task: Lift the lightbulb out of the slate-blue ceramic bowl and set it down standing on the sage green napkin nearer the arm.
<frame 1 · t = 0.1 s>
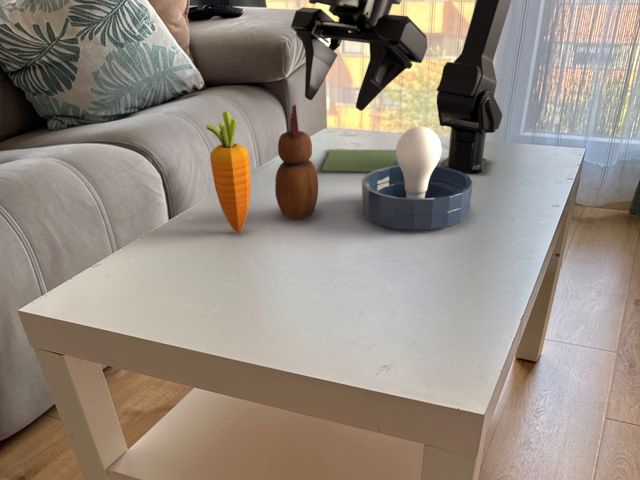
hand: (332, 103, 81), 15 cm above the table, tool tilted 30°, fingers open, 9 cm apart
napkin: (360, 161, 111), on the table
carrot: (238, 233, 87), on the table
lightbulb: (414, 210, 91), resting on bowl
wooden figurine: (298, 216, 92), on the table
bowl: (414, 212, 91), on the table
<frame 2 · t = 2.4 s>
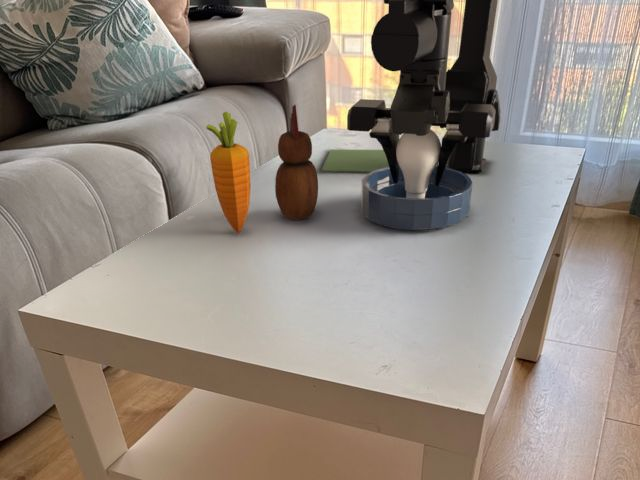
hand: (416, 184, 89), 4 cm above the table, tool pointing down, fingers closed on lightbulb, 5 cm apart
lightbulb: (414, 210, 91), resting on bowl, touching gripper
everything else where it was.
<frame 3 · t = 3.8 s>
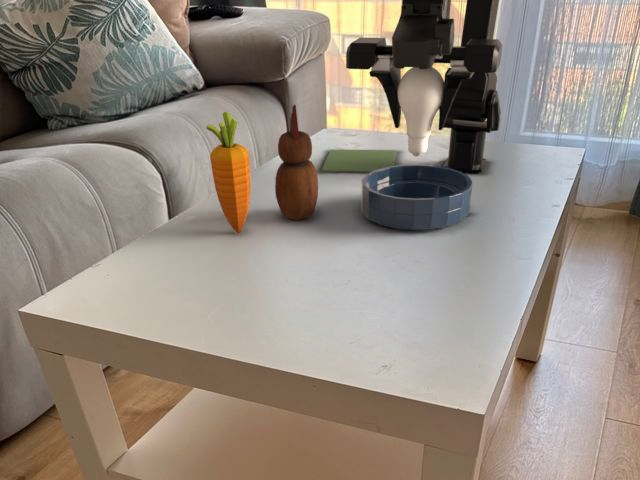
hand: (418, 128, 85), 11 cm above the table, tool pointing down, fingers closed on lightbulb, 5 cm apart
lightbulb: (416, 157, 87), point 7 cm above the table, touching gripper
everything else where it was.
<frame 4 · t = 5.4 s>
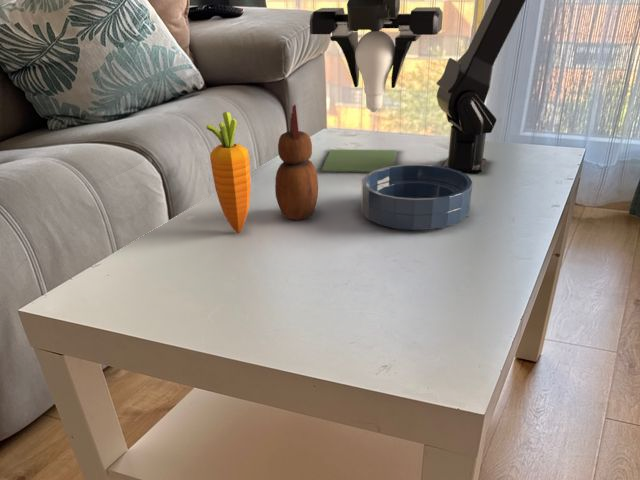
hand: (374, 87, 98), 13 cm above the table, tool pointing down, fingers closed on lightbulb, 5 cm apart
lightbulb: (374, 113, 100), point 9 cm above the table, touching gripper
everything else where it was.
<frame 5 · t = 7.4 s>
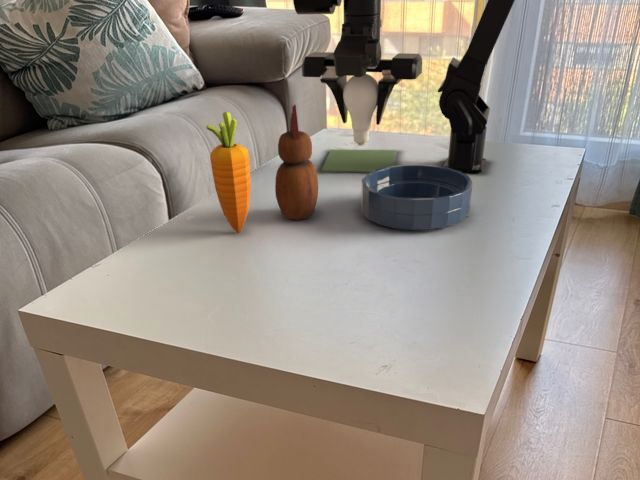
hand: (361, 123, 107), 6 cm above the table, tool pointing down, fingers closed on lightbulb, 5 cm apart
lightbulb: (361, 146, 109), point 3 cm above the table, touching gripper
everything else where it was.
when the fingers open (4 cm above the table, at t = 8.6 s): lightbulb stays where it is, resting on napkin.
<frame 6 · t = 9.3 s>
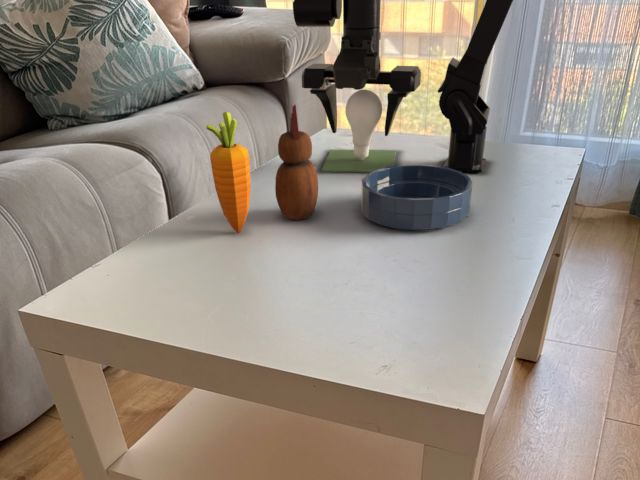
hand: (360, 134, 108), 5 cm above the table, tool pointing down, fingers open, 9 cm apart
lightbulb: (360, 160, 111), resting on napkin
everything else where it was.
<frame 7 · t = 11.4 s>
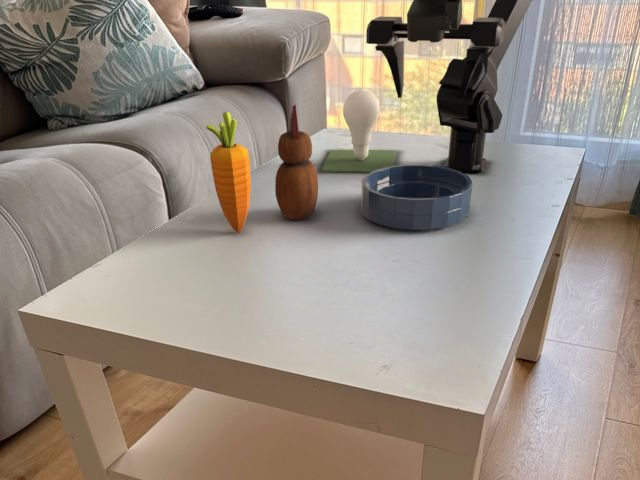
hand: (430, 98, 95), 12 cm above the table, tool pointing down, fingers open, 9 cm apart
nothing on the table moved.
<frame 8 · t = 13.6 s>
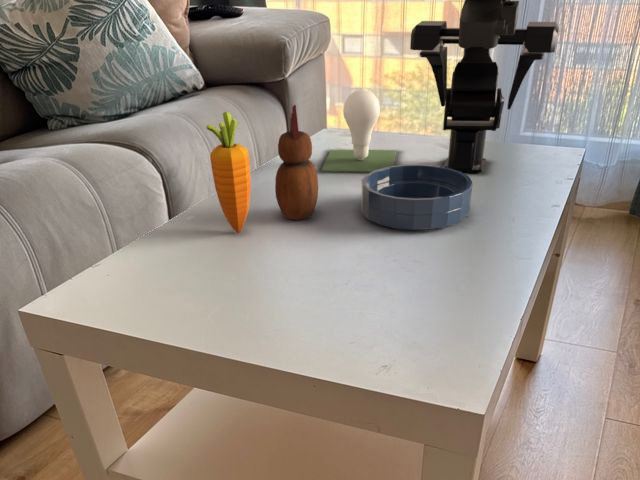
hand: (475, 107, 90), 12 cm above the table, tool pointing down, fingers open, 9 cm apart
nothing on the table moved.
at the end: lightbulb inside the target area on the napkin (0.1 cm from its centre), point 0.1 cm above the napkin's base; lightbulb tilted 0°; lightbulb touching napkin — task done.
